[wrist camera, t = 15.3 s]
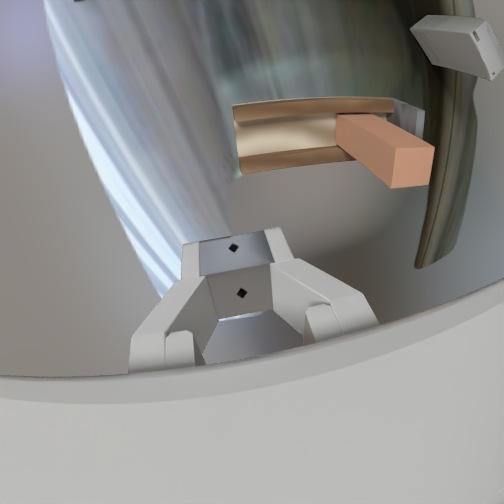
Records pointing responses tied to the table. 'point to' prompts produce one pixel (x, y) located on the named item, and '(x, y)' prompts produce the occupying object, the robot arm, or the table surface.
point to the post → (385, 149)
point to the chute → (307, 129)
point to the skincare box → (460, 44)
